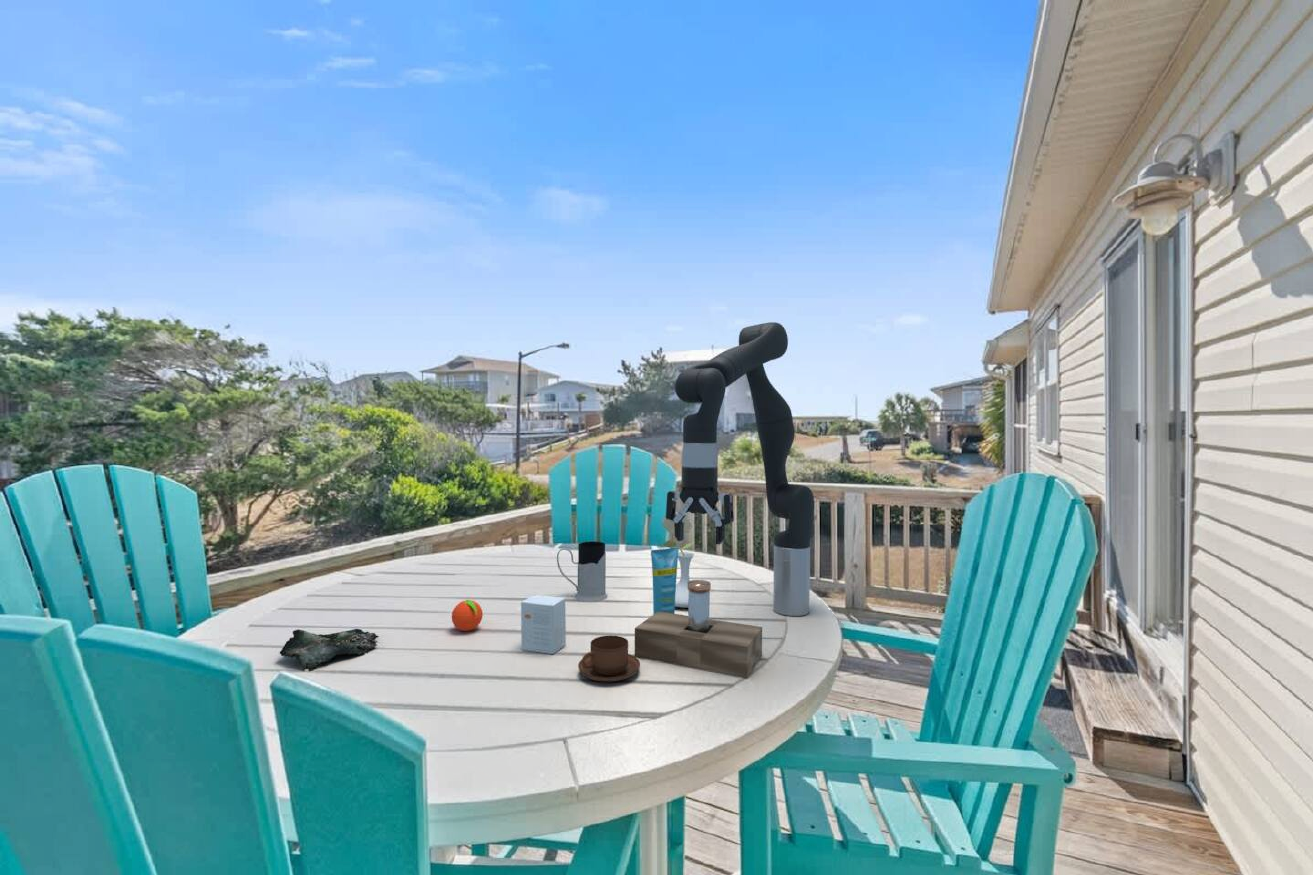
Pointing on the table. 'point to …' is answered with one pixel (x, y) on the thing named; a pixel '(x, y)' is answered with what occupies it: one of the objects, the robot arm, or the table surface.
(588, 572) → the glass holder
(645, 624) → the block
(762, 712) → the table surface
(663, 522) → the flower in vase
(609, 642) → the cup and saucer
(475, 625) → the clementine
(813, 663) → the table surface
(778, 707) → the table surface
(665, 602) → the tube
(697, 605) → the plug
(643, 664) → the table surface
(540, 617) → the small box
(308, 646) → the decorative rock
